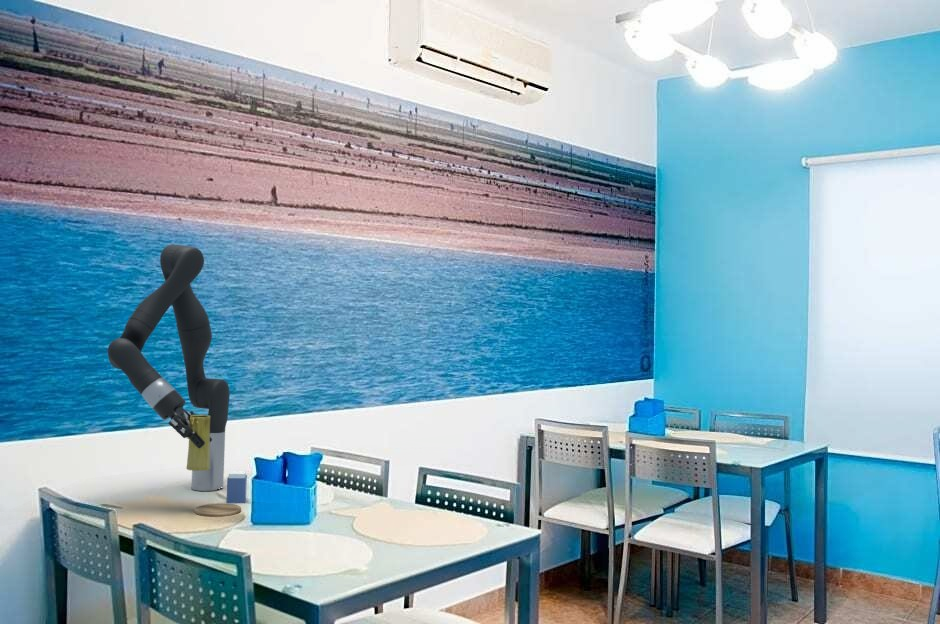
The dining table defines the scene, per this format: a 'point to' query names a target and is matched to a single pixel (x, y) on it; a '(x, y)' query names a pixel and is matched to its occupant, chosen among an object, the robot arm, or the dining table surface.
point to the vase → (201, 456)
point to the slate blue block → (236, 487)
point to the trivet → (217, 509)
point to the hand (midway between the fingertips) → (205, 444)
